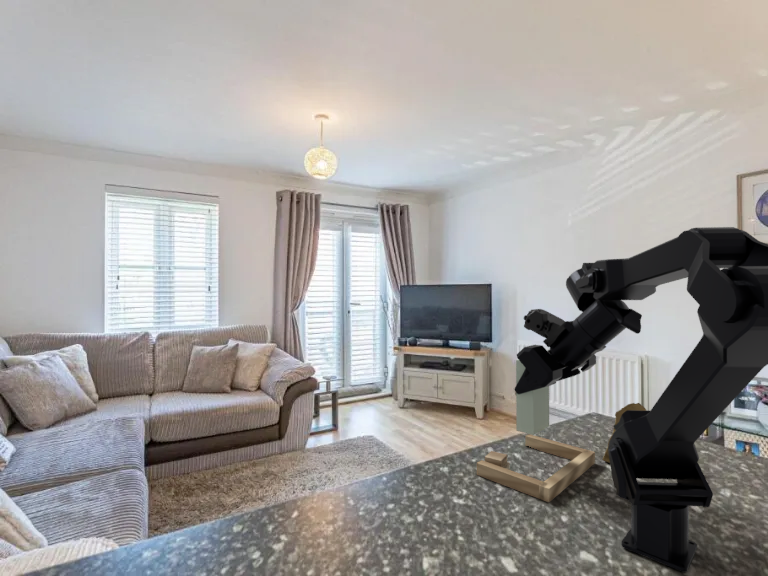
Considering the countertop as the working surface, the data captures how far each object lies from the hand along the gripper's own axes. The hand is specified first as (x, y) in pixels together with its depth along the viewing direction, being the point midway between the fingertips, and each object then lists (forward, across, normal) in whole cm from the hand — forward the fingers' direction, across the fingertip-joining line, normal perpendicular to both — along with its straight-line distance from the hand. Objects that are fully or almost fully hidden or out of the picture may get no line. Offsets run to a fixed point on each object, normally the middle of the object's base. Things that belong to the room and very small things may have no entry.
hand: (525, 388), depth 72 cm
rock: (+3, -16, +17) cm, 23 cm away
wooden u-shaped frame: (+8, 0, +11) cm, 14 cm away
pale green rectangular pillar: (+4, 0, +6) cm, 7 cm away
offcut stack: (+12, +5, +8) cm, 15 cm away
